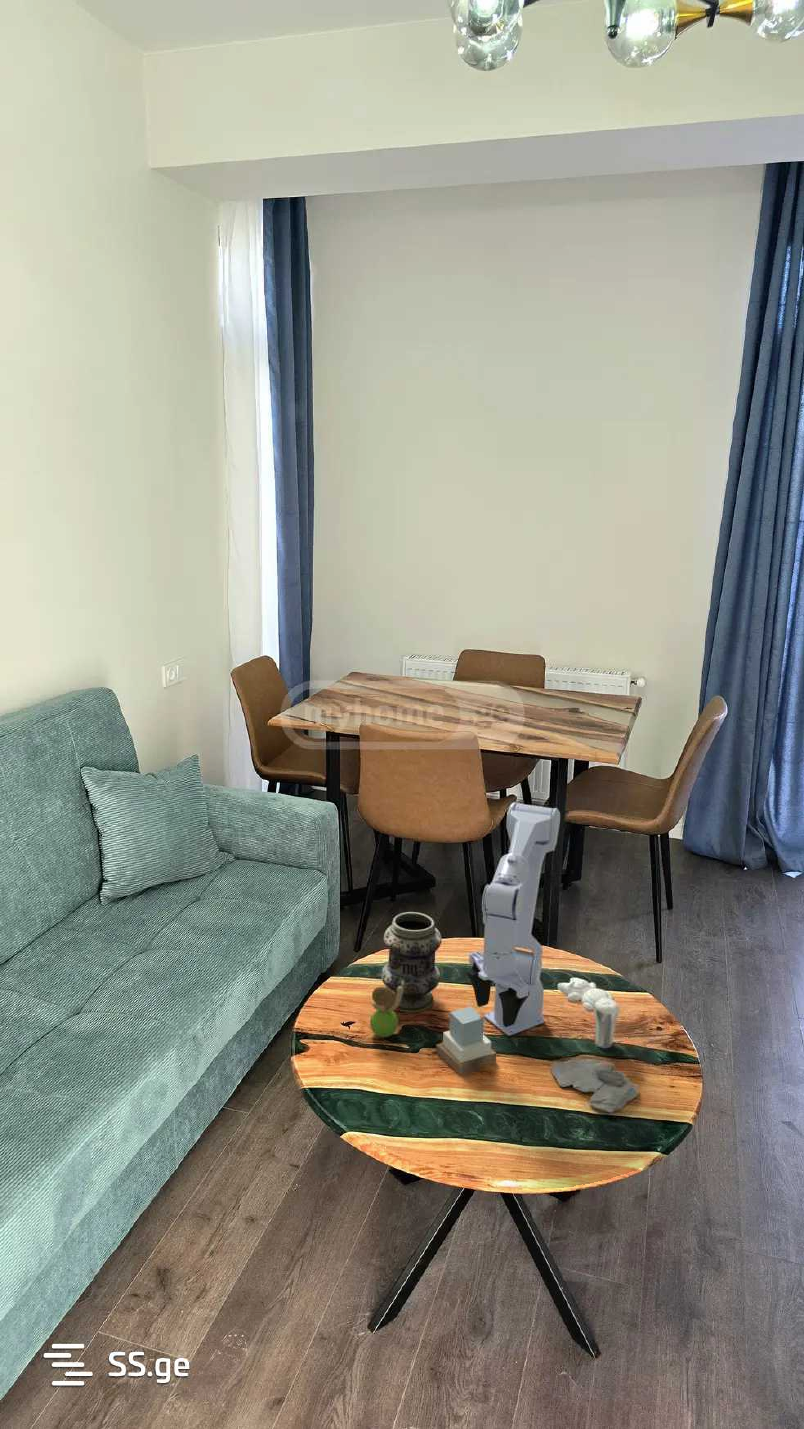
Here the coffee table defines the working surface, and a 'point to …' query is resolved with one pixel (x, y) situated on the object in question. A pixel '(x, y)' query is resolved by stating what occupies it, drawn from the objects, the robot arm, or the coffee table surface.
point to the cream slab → (466, 1048)
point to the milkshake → (605, 1021)
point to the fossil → (596, 1082)
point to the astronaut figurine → (583, 992)
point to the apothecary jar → (412, 960)
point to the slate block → (466, 1026)
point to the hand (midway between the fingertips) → (495, 1014)
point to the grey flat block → (464, 1066)
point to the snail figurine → (385, 1010)
